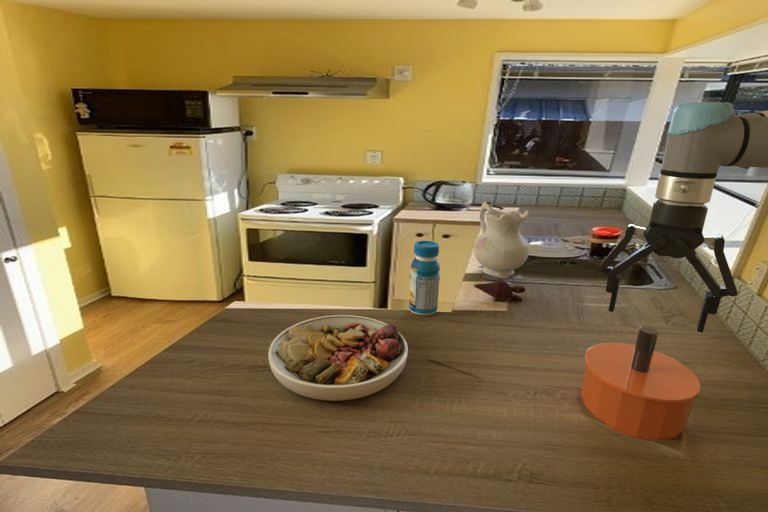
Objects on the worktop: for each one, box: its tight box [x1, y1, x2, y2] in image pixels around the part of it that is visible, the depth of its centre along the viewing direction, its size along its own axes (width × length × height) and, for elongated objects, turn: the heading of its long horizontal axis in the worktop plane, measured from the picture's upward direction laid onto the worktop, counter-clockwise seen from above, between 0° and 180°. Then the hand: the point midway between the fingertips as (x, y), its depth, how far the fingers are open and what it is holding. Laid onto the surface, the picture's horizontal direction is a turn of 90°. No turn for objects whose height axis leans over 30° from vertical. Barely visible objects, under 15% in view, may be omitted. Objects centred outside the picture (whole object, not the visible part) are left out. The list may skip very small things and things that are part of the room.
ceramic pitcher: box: [473, 199, 531, 279], centre depth 151 cm, size 22×20×25 cm
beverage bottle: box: [408, 240, 441, 316], centre depth 119 cm, size 8×8×20 cm
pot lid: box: [584, 325, 702, 403], centre depth 78 cm, size 19×19×9 cm
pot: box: [579, 364, 695, 442], centre depth 81 cm, size 18×18×8 cm
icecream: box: [473, 278, 526, 302], centre depth 129 cm, size 7×7×15 cm
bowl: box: [267, 314, 409, 402], centre depth 93 cm, size 30×30×8 cm
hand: (653, 318), depth 76 cm, fingers open, 13 cm apart
